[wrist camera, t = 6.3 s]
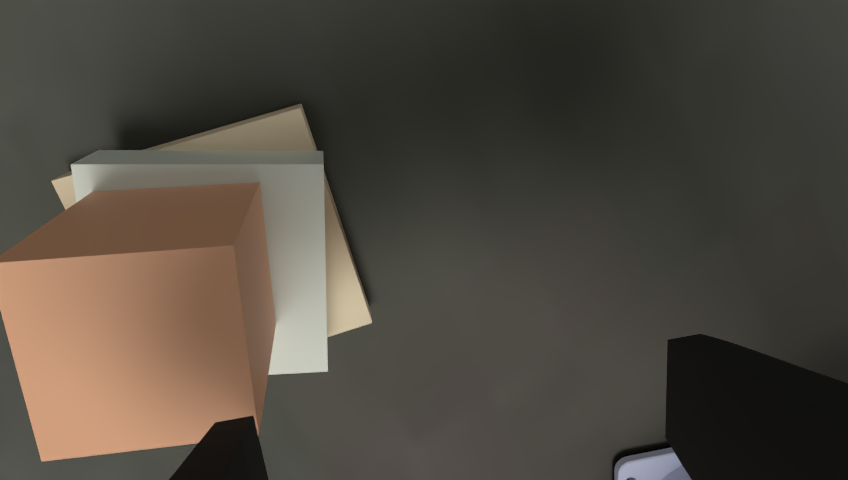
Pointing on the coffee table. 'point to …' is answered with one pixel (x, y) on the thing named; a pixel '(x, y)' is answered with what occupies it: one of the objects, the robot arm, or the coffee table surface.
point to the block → (141, 318)
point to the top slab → (283, 217)
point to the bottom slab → (341, 273)
